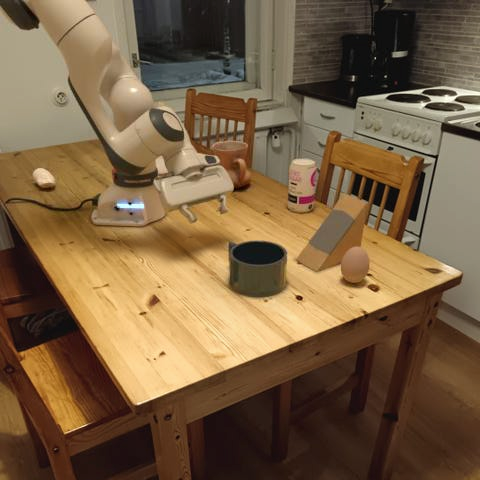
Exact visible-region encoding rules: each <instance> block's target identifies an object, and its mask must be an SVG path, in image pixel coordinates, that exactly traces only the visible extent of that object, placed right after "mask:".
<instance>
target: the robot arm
mask: <svg viewBox="0 0 480 480" xmlns="http://www.w3.org/2000/svg"><path fill="white" fill-rule="evenodd" d="M0 12H1V14H2V16H4V17H5V19H7V20H8V22H10V23H11V24H12V25H13V26H15V27H17V28H19V29H20V30H22V31H32V30H34V29H35V30H38V29H40V25H42V28H43V29H44V30H45V32H46V33H47V35H48V36H49V38H50V39H51V41H52V42H53V43H54V45H55V46H56V47H57V48H58V50H59V52H60V53H61V54H62V57H63V58H64V61H65V64H66V67H67V71H68V77H67V83H68V87H69V89H70V91H71V93H72V95H73V97H74V99H75V101H76V102H77V104H78V106H79V107H80V109H81V111H82V113H83V114H84V117H85V118H86V121H88V123H89V125H90V126H91V128H92V130H93V131H94V133H95V135H96V137H97V138H98V140H99V142H100V144H101V146H102V147H103V150H104V152H105V154H106V157H107V159H108V161H109V163H110V165H111V166H112V168H111V169H112V170H111V178H112V179H111V180H112V183H111V184H110V185H109V186H107V188H105V190H103V191H102V192H101V193H98V194H96V195H95V196H93V197H92V198H86V199H84V200H83V201H81V202H80V204H79V205H77V206H75V207H69V208H67V207H57V206H56V207H54V206H50V205H48V204H46V203H42V202H41V201H38V200H35V199H30V198H22V197H11V198H8V199H7V200H5V201H4V204H8V203H9V202H11V201H23V202H29V203H34V204H38V205H40V206H42V207H45V208H48V209H50V210H54V211H65V212H66V211H67V212H69V211H76V210H79V209H81V208H83V205H84V204H86V203H88V202H91V205H92V207H96V208H95V209H94V210H93V211H92V213H91V214H90V215H91V217H90V219H91V222H92V224H94V225H96V226H118V227H119V226H120V227H145V226H146V225H148V224H150V223H152V222H153V223H154V222H156V221H159V220H161V219H163V218H165V216H166V212H167V213H172V212H175V211H179V213H180V214H181V215H182V216H183V217H185V218H187V221H188V222H189V224H194V223H197V221H198V217H197V215H196V213H195V212H193V213H192V212H191V211H189V210H188V208H189V207H193V206H196V205H197V206H198V205H200V204H205V203H207V202H212V201H215V200H217V202H218V203H219V204H220V205H219V208H218V209H217V210H218V212H219V214H220V215H225V214H227V213H228V212H229V209H228V207H227V197H229V196H230V195H231V194H232V193H233V192H234V185H233V182H232V180H231V178H230V177H229V175H228V173H227V171H226V170H225V169H224V168H223V167H222V166H220V165H219V163H220V160H219V158H218V157H217V156H215V155H214V154H213V155H212V154H211V155H210V154H205V153H200V152H198V151H197V149H196V148H195V146H193V144H192V142H191V138H190V135H189V132H188V131H187V129H186V127H185V125H184V124H183V122H182V121H181V119H180V117H179V116H178V115H177V113H176V112H175V110H174V109H173V108H171V107H169V106H167V107H165V106H166V105H164V106H162V107H158V106H157V107H155V101H154V97H153V94H152V92H151V91H150V89H149V88H148V87H147V86H146V85H145V84H144V83H143V82H142V81H141V80H140V79H139V78H138V76H137V75H136V74H135V72H134V71H133V70H132V68H131V66H130V65H129V64H128V62H127V60H126V59H125V57H124V56H123V54H122V53H121V51H120V50H119V48H118V47H117V45H116V44H115V42H114V41H113V39H112V38H111V35H110V33H109V32H108V29H107V28H106V26H105V25H104V23H103V22H102V20H101V18H99V16H98V14H96V12H95V10H94V9H93V8H92V7H91V6H90V4H89V3H88V2H87V1H86V0H0ZM101 97H102V98H103V100H104V101H105V102H106V103H107V105H108V106H109V108H110V109H111V112H112V118H113V120H112V118H111V116H110V115H109V113H108V111H107V109H106V108H105V106H104V104H103V102H102V99H101ZM159 156H162V157H163V159H164V164H165V166H166V169H167V171H168V173H166V174H164V175H159V174H158V169H157V168H156V162H155V160H156V159H157V158H158V157H159Z"/></svg>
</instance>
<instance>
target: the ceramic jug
mask: <svg viewBox="0 0 480 480" xmlns="http://www.w3.org/2000/svg"><path fill="white" fill-rule="evenodd" d="M248 149H249V145H248V143H247V142H244V141H239V140H238V141H237V140H225V141H217V142H214V143H213V145H212V151H213V156H217V157H218V158H219V160H220V163H219V165H220V166H222V167H223V168H224V169H225V170H226V171H227V173H228V175H229V177H230V178H231V180H232V182H233V185H234V189H239V188H243V187H245V186H247V185H248V184H249V183H250V182H251V179H252V175H251V173H250V171H249V170H248V169H247V164H246V161H245V160H246V157H247V154H248ZM234 189H233V190H234Z"/></svg>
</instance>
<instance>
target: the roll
mask: <svg viewBox="0 0 480 480" xmlns="http://www.w3.org/2000/svg"><path fill="white" fill-rule="evenodd" d="M32 179H33V181H34V182H36V184H37V185H38V186H39V187H41V188H42V189H50V188H51V189H52V188H53V187H54V186H56V179H55V177H54V176H53V174H52V173H51V172H50V171H48V170H47V169H46V168H43V167H37V168H36V169H34V171H33V172H32Z"/></svg>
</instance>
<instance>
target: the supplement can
mask: <svg viewBox="0 0 480 480" xmlns="http://www.w3.org/2000/svg"><path fill="white" fill-rule="evenodd" d="M317 169H318V168H317V165H316V161H315V160H313V159H310V158H296V159H292V161H291V163H290V164H289V172H288V188H287V190H288V191H287V208H288V209H289V211H291V212H293V213H298V214H304V213H305V214H307V213H309V212H311V211H312V210H313V209H314V206H315V205H314V204H315V203H314V202H315V194H316V181H317V171H318V170H317Z"/></svg>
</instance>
